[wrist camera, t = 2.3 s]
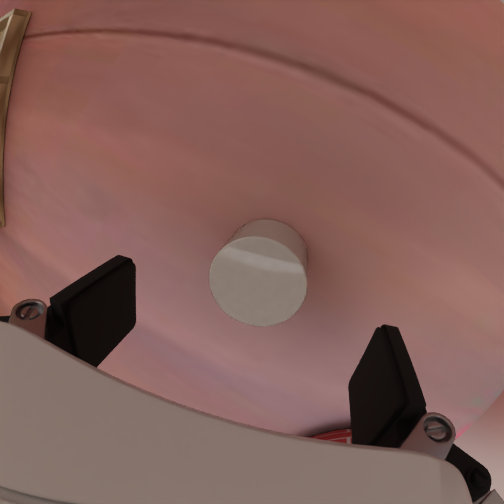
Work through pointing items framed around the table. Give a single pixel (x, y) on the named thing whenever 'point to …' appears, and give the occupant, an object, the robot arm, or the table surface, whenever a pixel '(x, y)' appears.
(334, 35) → the table surface
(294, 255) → the grey squat cylinder
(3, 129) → the compartment tray
